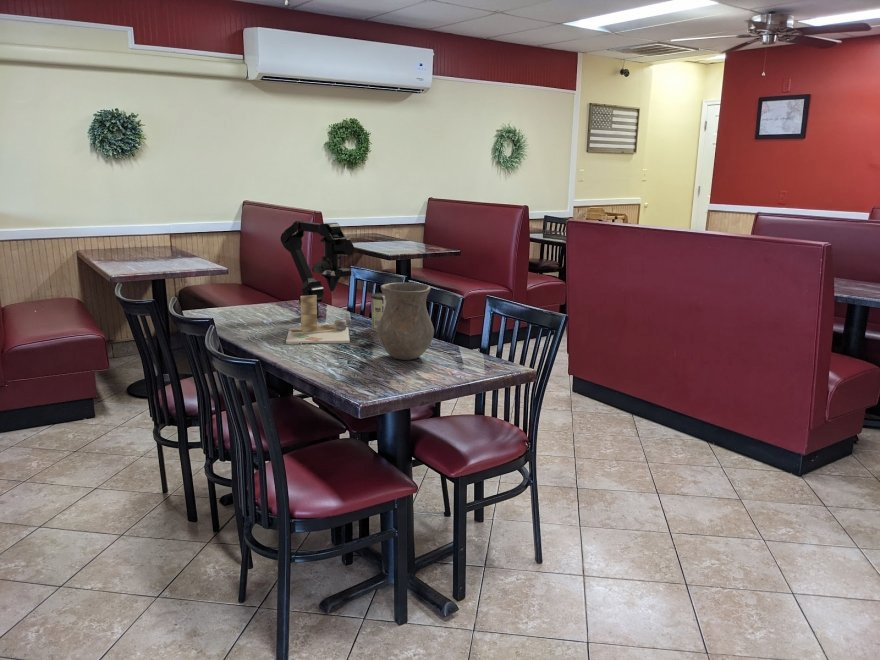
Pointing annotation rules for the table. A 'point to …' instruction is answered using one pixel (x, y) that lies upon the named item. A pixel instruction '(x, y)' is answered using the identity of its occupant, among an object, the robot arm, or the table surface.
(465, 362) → the table surface
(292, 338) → the dial board
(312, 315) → the lever
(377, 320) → the coffee can
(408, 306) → the vase
